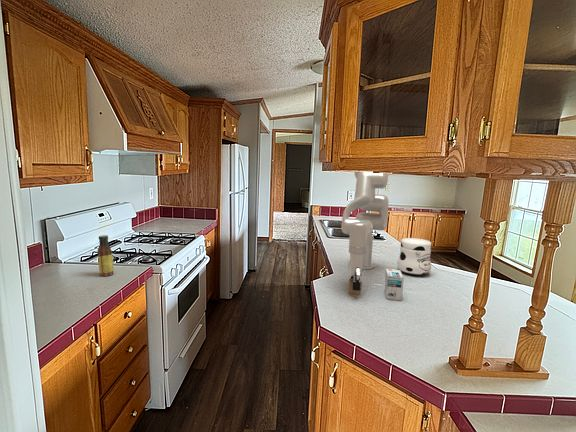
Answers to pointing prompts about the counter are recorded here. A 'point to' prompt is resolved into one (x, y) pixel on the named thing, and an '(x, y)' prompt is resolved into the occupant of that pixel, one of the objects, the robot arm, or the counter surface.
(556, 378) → the counter surface
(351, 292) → the walnut block
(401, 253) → the milk container
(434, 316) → the counter surface
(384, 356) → the counter surface
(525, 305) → the counter surface
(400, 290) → the light bulb box
